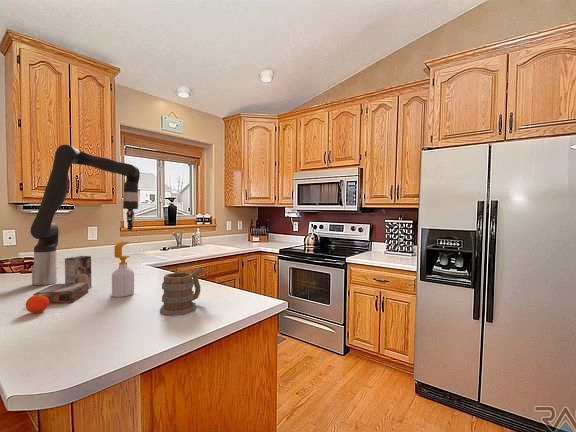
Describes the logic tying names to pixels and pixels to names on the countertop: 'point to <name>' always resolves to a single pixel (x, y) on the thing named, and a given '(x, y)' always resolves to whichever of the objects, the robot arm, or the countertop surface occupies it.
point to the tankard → (180, 292)
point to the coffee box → (78, 270)
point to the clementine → (37, 303)
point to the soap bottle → (122, 275)
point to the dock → (64, 292)
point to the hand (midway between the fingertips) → (130, 229)
